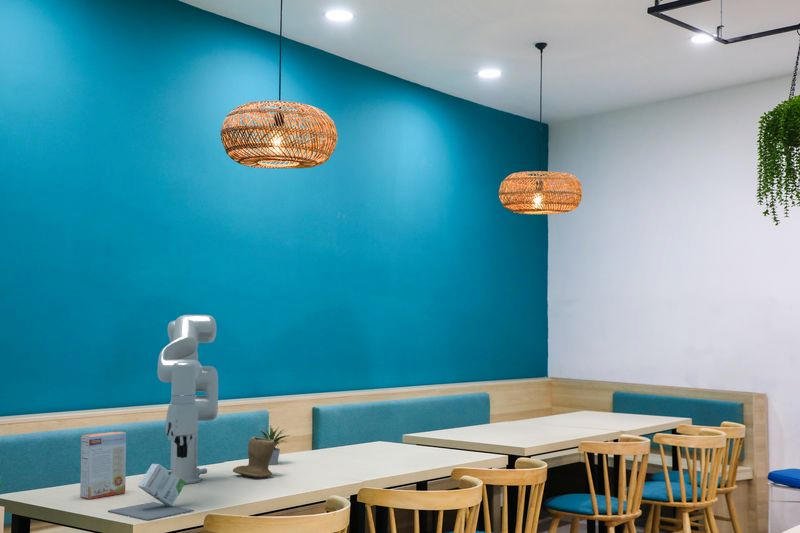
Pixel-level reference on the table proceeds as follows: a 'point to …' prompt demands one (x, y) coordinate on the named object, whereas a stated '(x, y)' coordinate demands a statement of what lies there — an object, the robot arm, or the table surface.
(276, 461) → the house plant
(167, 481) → the ink box
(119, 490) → the cracker box
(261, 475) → the brown suede boot shape
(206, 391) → the robot arm
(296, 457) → the table surface
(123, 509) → the mat
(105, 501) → the table surface
